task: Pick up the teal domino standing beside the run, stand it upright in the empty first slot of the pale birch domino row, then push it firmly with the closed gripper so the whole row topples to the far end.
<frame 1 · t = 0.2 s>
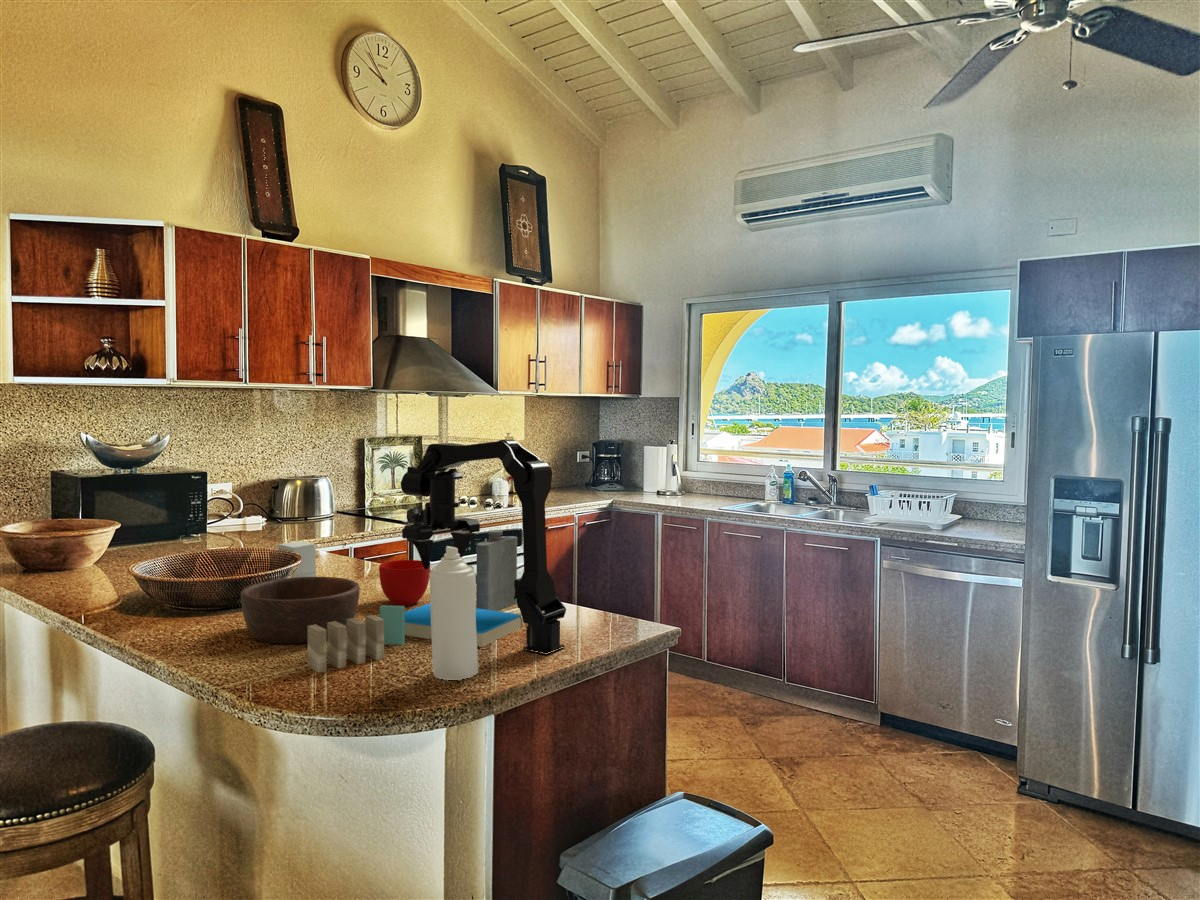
hand: (442, 566, 185), 15 cm above the table, tool pointing down, fingers open, 9 cm apart
ceramic cup: (407, 601, 213), on the table
wooden bowl: (301, 633, 182), on the table
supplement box: (296, 589, 225), on the table
domino 2: (374, 656, 165), on the table
domino 3: (356, 660, 162), on the table
domino 5: (317, 668, 157), on the table
spray can: (454, 676, 154), on the table
book: (456, 633, 185), on the table
hip flask: (495, 609, 206), on the table
teal domino: (392, 643, 174), on the table
domino 4: (336, 664, 159), on the table
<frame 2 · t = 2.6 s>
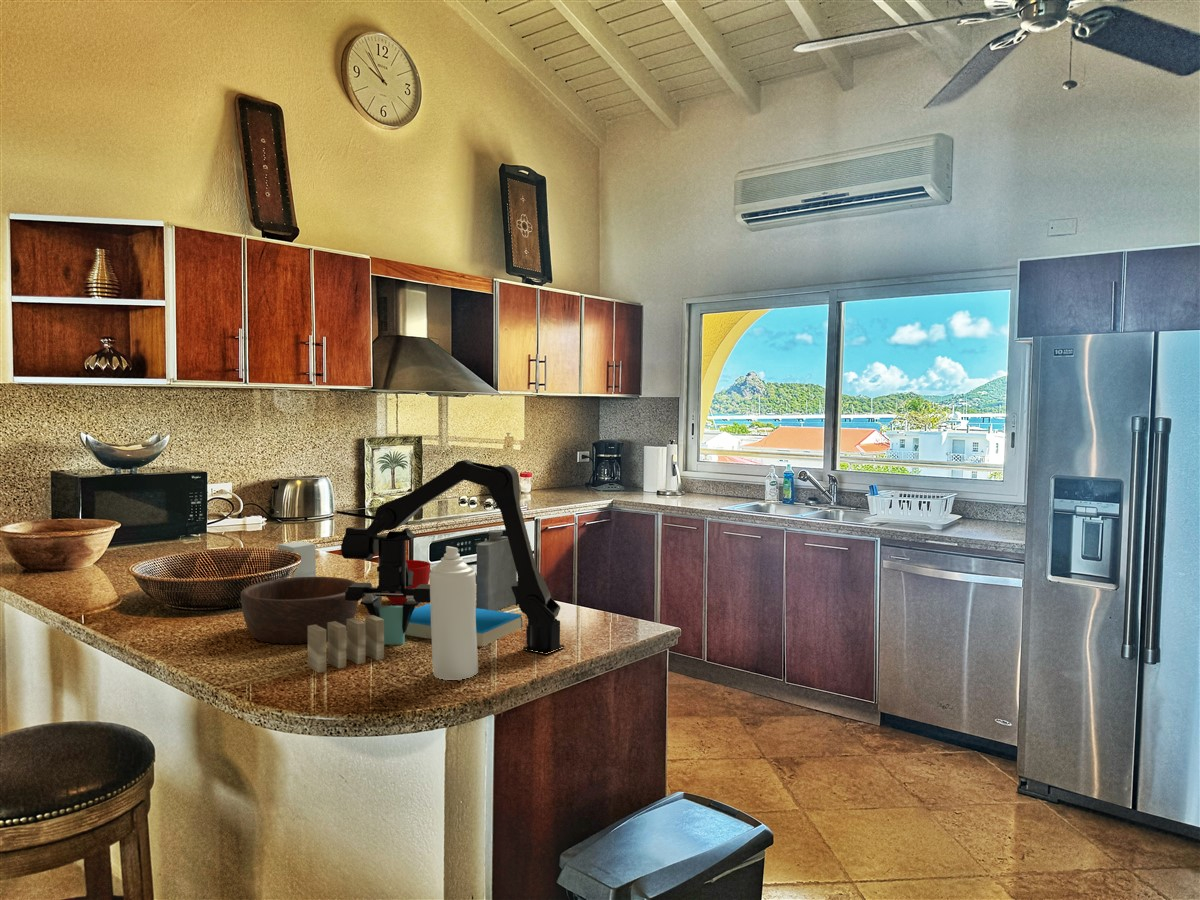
hand: (392, 632, 174), 2 cm above the table, tool pointing down, fingers closed on teal domino, 5 cm apart
teal domino: (392, 643, 174), on the table, touching gripper
everything else where it was.
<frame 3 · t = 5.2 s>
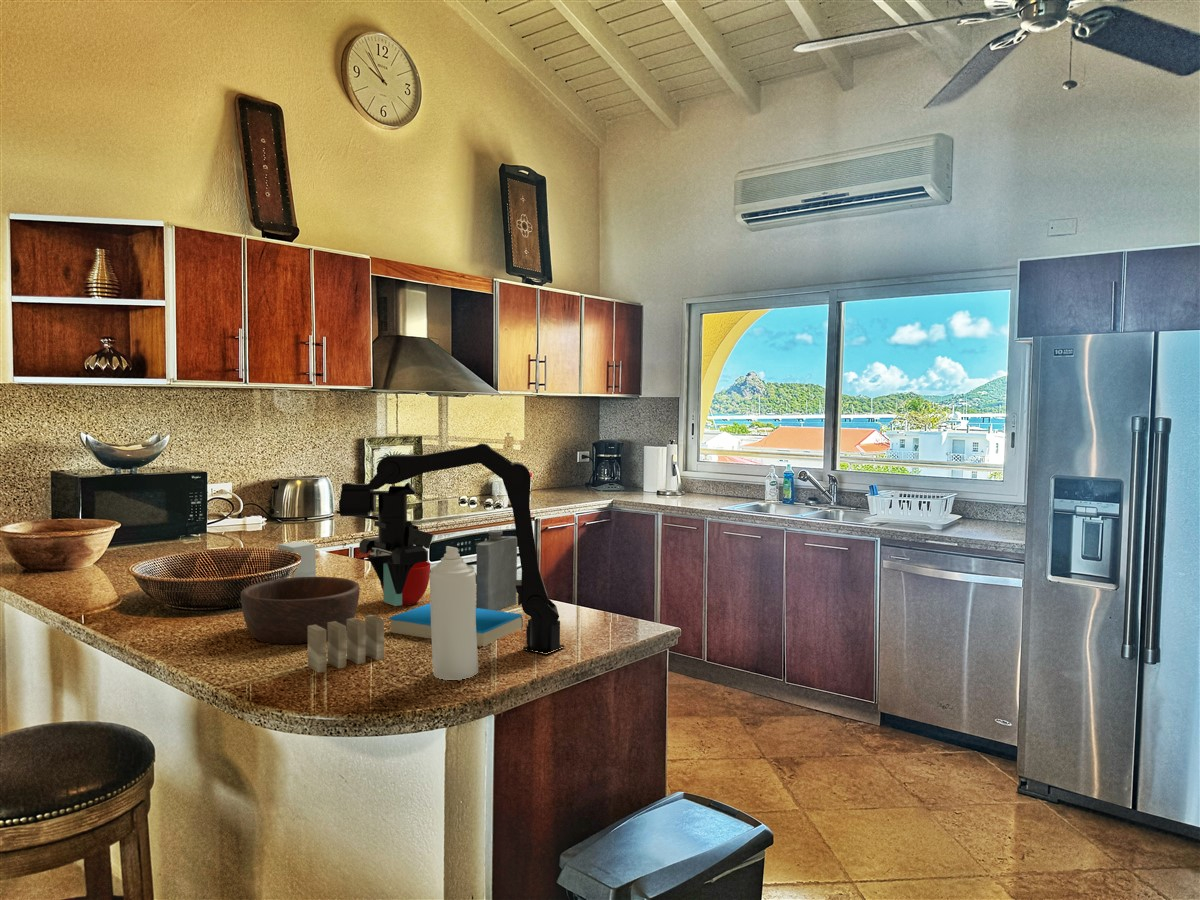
hand: (392, 591, 167), 13 cm above the table, tool pointing down, fingers closed on teal domino, 5 cm apart
teal domino: (392, 603, 167), point 10 cm above the table, touching gripper
everything else where it was.
when the fingers open (3 cm above the table, at t = 7.7 s): teal domino stays where it is, on the table.
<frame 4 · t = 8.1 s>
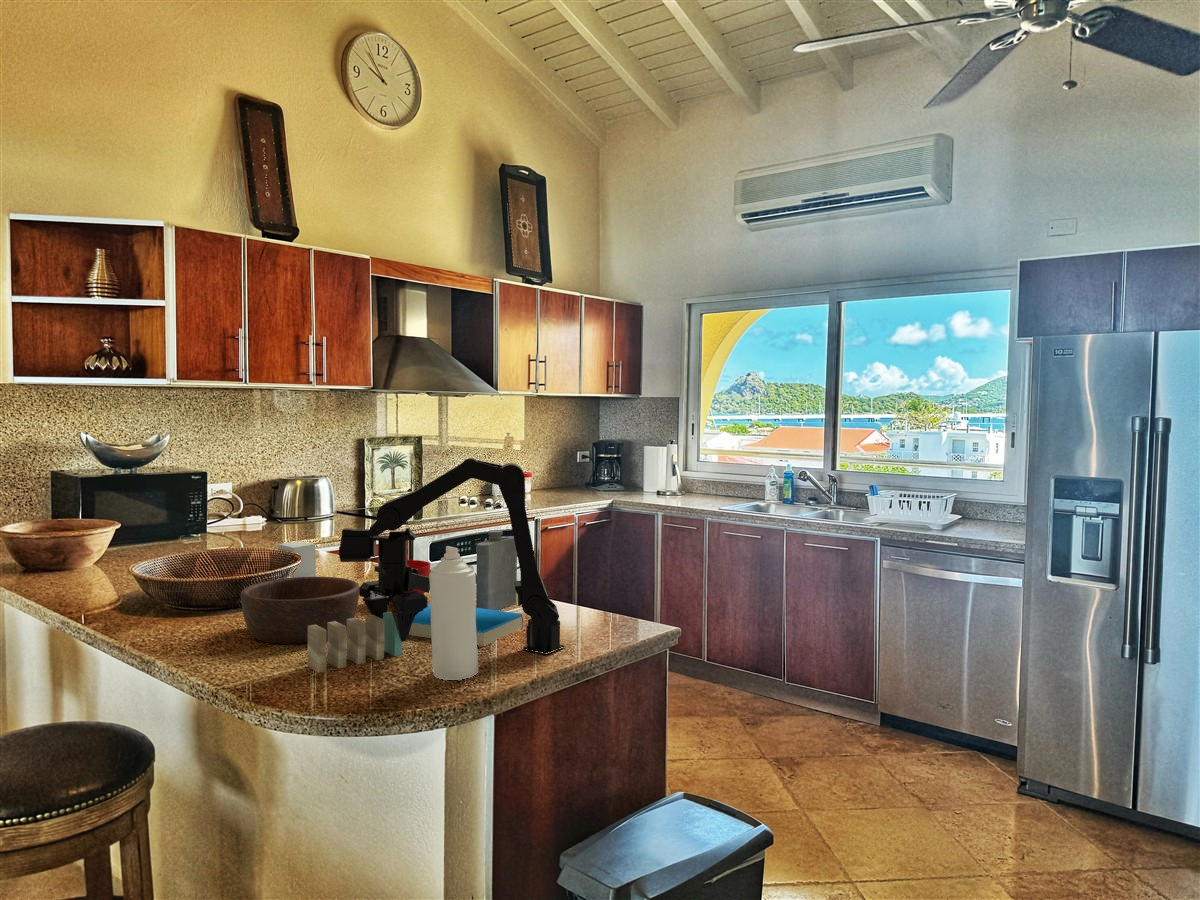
hand: (392, 636, 167), 3 cm above the table, tool pointing down, fingers open, 9 cm apart
teal domino: (392, 652, 168), on the table
everything else where it was.
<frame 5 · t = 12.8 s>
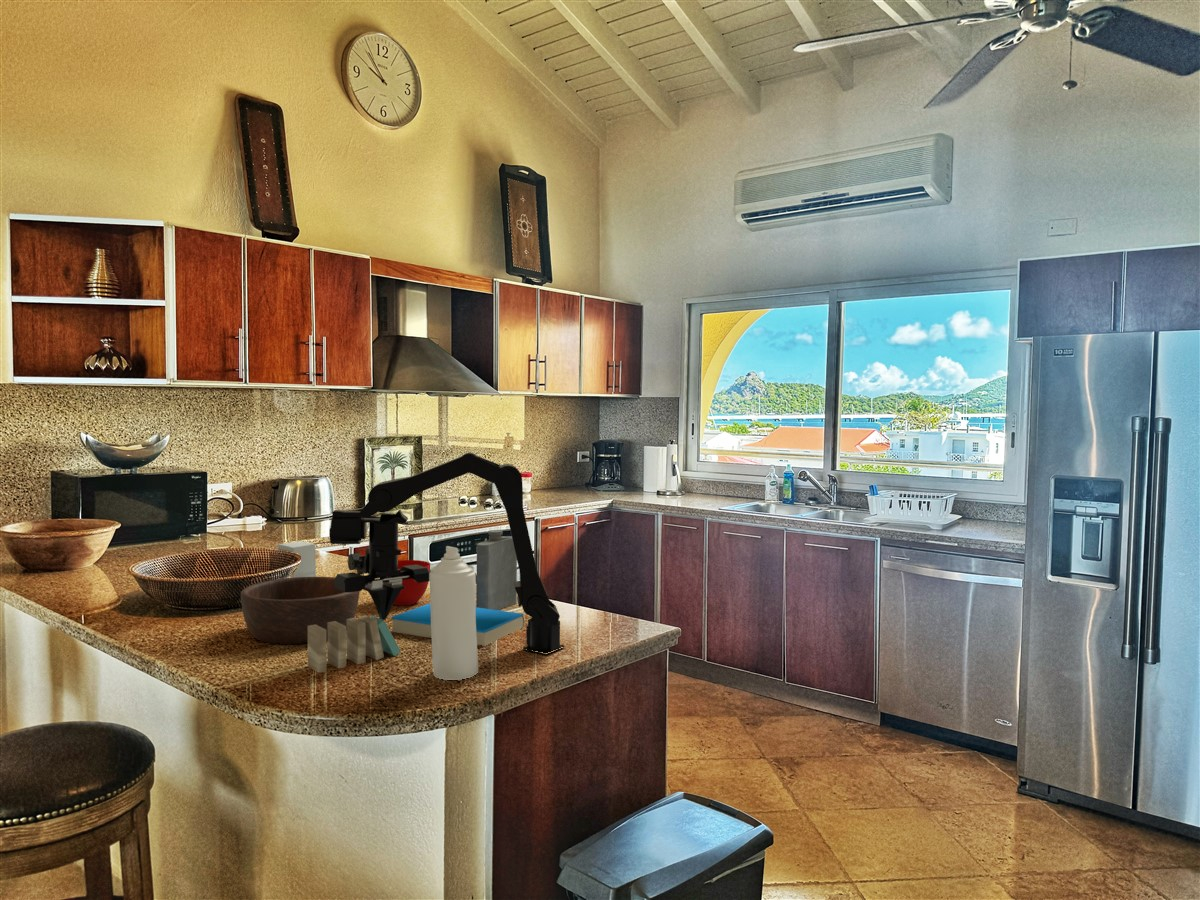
hand: (382, 619, 166), 7 cm above the table, tool pointing down, fingers closed
domino 2: (374, 655, 165), on the table, tilted 11°, touching teal domino
teal domino: (391, 651, 167), on the table, tilted 28°, touching domino 2
everything else where it was.
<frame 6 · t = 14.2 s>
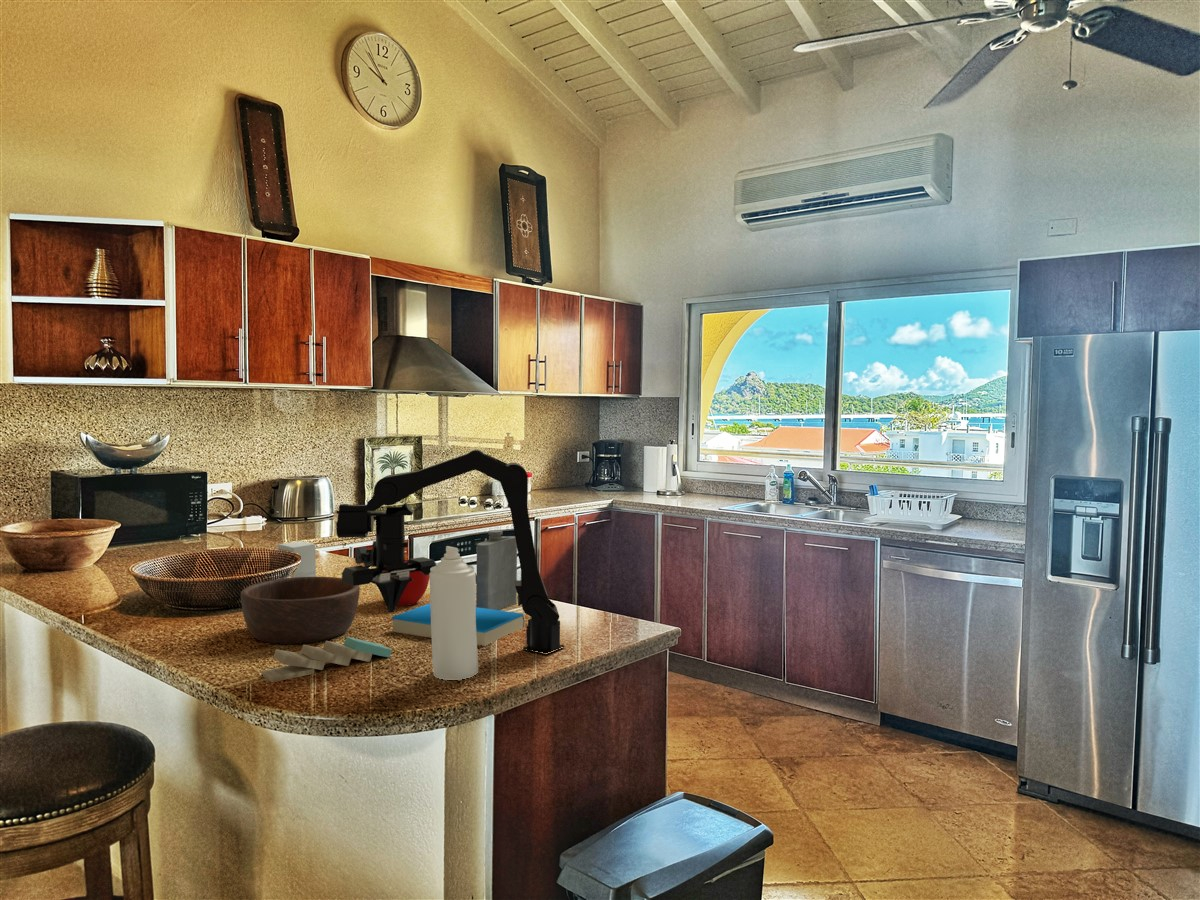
hand: (390, 612, 167), 9 cm above the table, tool pointing down, fingers closed
domino 2: (365, 655, 163), point 1 cm above the table, tilted 68°, touching domino 3, teal domino
domino 3: (344, 659, 161), point 1 cm above the table, tilted 68°, touching domino 2, domino 4
domino 5: (309, 669, 156), on the table, tilted 90°
teal domino: (384, 650, 166), point 1 cm above the table, tilted 68°, touching domino 2
domino 4: (318, 662, 157), point 1 cm above the table, tilted 71°, touching domino 3
everything else where it was.
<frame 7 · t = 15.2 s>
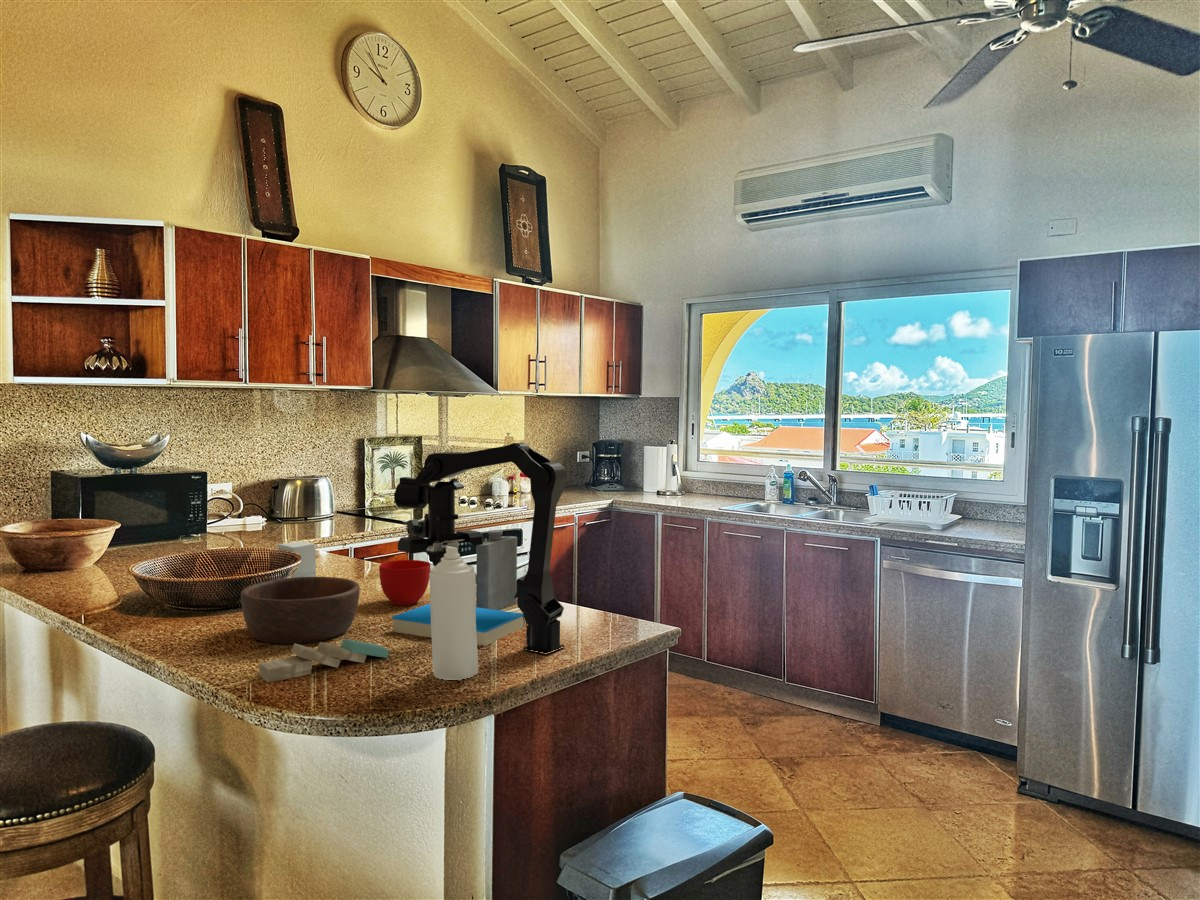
hand: (441, 580, 178), 13 cm above the table, tool pointing down, fingers closed
domino 2: (360, 656, 163), point 1 cm above the table, tilted 69°, touching domino 3, teal domino
domino 3: (334, 661, 159), point 1 cm above the table, tilted 65°, touching domino 2, domino 4
domino 5: (306, 670, 156), on the table, tilted 90°, touching domino 4
domino 4: (306, 661, 155), point 2 cm above the table, tilted 90°, touching domino 3, domino 5
everything else where it was.
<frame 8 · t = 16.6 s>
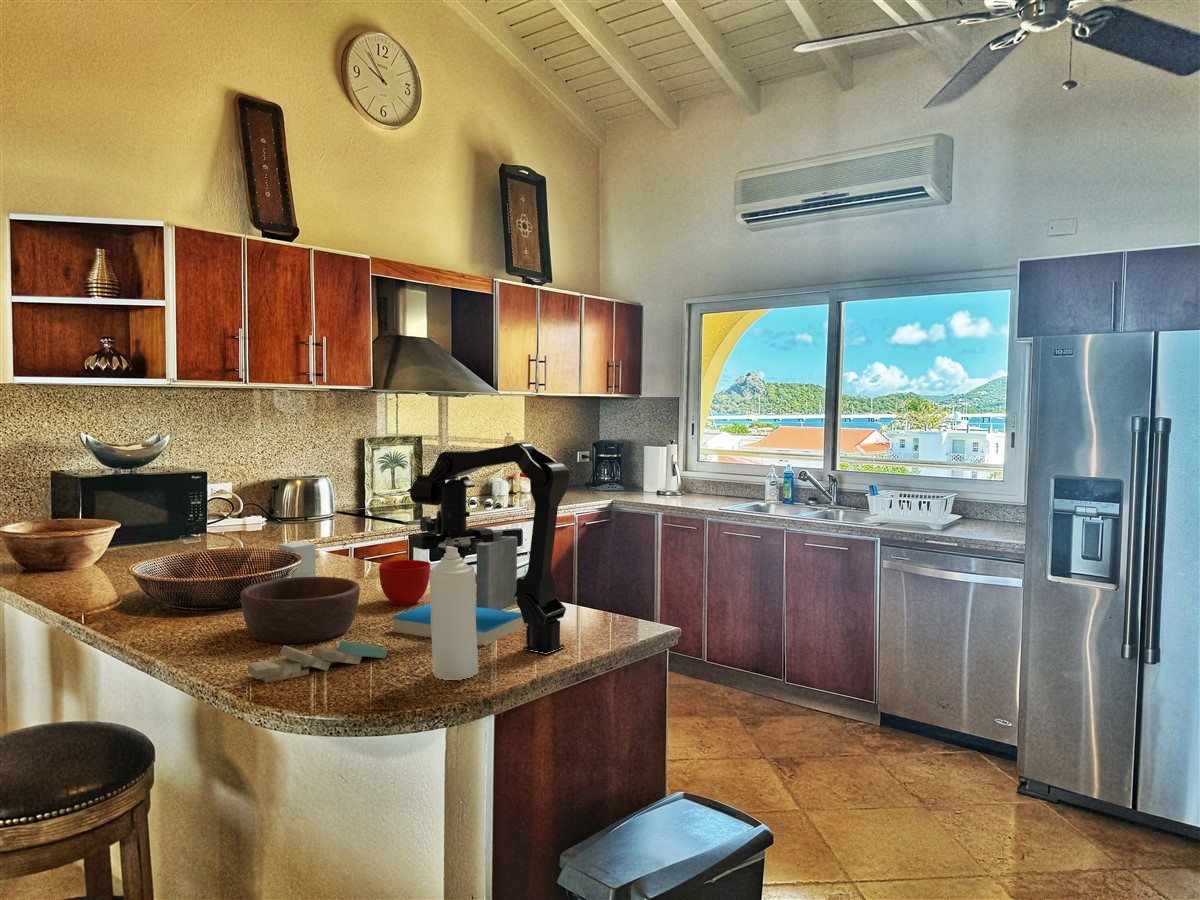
hand: (453, 576, 182), 13 cm above the table, tool pointing down, fingers closed
domino 2: (354, 657, 162), point 1 cm above the table, tilted 72°, touching domino 3, teal domino
domino 3: (323, 663, 158), point 1 cm above the table, tilted 63°, touching domino 2, domino 4
domino 4: (296, 663, 154), point 2 cm above the table, tilted 89°, touching domino 3, domino 5
at the end: domino 5 tilted 89°; teal domino tilted 74°; teal domino inside the target area (1.0 cm from its centre), point 0.7 cm above the table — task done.
